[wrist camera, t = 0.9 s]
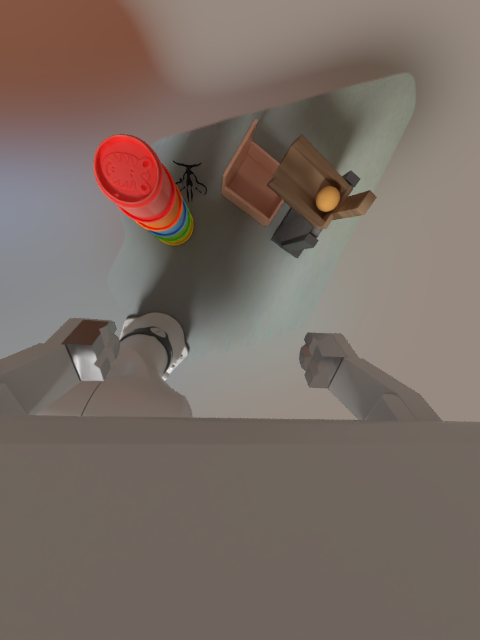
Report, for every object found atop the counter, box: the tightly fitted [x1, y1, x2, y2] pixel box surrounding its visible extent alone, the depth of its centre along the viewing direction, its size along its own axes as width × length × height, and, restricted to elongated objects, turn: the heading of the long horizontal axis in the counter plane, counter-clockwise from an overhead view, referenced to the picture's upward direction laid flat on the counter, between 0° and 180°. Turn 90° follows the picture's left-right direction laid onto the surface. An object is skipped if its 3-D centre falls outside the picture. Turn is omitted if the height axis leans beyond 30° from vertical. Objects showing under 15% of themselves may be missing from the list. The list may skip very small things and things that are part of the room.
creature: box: [173, 161, 207, 201], centre depth 52 cm, size 8×5×8 cm
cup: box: [221, 118, 284, 227], centre depth 50 cm, size 11×13×13 cm
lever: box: [267, 134, 376, 238], centre depth 37 cm, size 10×14×11 cm
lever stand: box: [271, 171, 360, 258], centre depth 51 cm, size 15×8×17 cm, turn 147°
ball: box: [316, 186, 340, 212], centre depth 40 cm, size 4×4×4 cm
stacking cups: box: [94, 134, 194, 245], centre depth 39 cm, size 10×10×35 cm
